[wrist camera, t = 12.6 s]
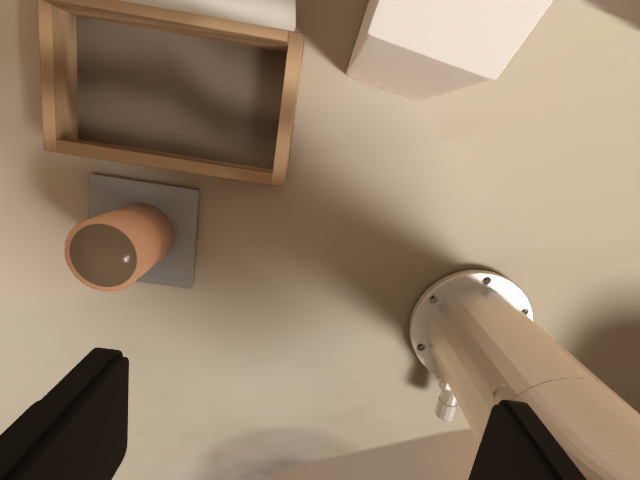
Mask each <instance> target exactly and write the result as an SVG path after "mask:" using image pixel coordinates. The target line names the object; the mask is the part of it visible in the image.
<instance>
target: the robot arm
mask: <svg viewBox="0 0 640 480" xmlns="http://www.w3.org/2000/svg"><path fill="white" fill-rule="evenodd" d="M483 278H485V279H483ZM431 296H433V297H432V298H430V297H431ZM409 333H410V340H411V343H412V347H413V349H414V351H415V353H416V355H417V357H418V358H419V360H420V361H421V363H422V364H423V365H424V366H425V367H426V368H427V369H428V370H430V371H431V372H433V373H434V374H436V375H438V376H439V377H440V379H441V380H440V384H439V385H440V388H441V390H442V391H441V395H440V396H439V399H438V403H437V406H436V410H435V413H436V415H437V416H438V417H439V418H440V419H442V420H445V421H452V420H453V418H454V415H455V412H456V408H457V405H458V404H459V406H460V408H461V410H462V412H463V414H464V416H465V417H466V419H467V421H468V423H469V425H470V427H471V429H472V431H473V433H474V435H475V436H476V439H477V440H478V442H479V444H480V446H479V449H478V452H477V455H476V458H475V461H474V464H473V467H472V471H471V474H470V476H469V479H468V480H640V414H639V413H638V412H637V411H636V410H635V409H633V408H632V407H631V406H630V405H629V404H628V403H627V402H625V401H624V400H623V399H622V398H621V397H620V396H619V395H617V394H616V393H615V392H614V391H613V390H611V389H610V388H609V387H608V386H607V385H605V384H604V383H603V382H602V381H601V380H600V379H599V378H597V377H596V376H595V375H594V374H593V373H592V372H591V371H590V370H588V369H587V368H586V367H585V366H584V365H583V364H582V363H580V362H579V361H578V360H577V359H576V358H575V357H574V356H572V355H571V354H570V353H569V352H568V351H567V350H566V349H564V348H563V347H562V346H561V345H560V344H559V343H558V342H556V341H555V340H554V339H553V338H552V337H551V336H550V335H548V334H547V333H546V332H545V331H544V330H543V329H542V328H540V327H539V326H538V325H537V324H536V323H535V322H534V321H533V314H532V309H531V305H530V303H529V301H528V299H527V297H526V295H525V294H524V293H523V291H522V290H521V289H520V288H519V287H518V286H517V285H515V284H514V283H513V282H512V281H510V280H509V279H507V278H506V277H504V276H502V275H500V274H497V273H495V272H491V271H486V270H466V271H460V272H456V273H454V274H451V275H448V276H446V277H444V278H442V279H440V280H439V281H437V282H436V283H434V284H433V285H432V286H431V287H429V288H428V289H427V290H426V291H425V292H424V294H423V295H422V296H421V297H420V298H419V300H418V302H417V303H416V305H415V307H414V309H413V312H412V315H411V318H410V325H409ZM128 379H129V360H128V358H127V357H123V354H122V352H121V351H120V350H113V349H105V348H94V349H93V350H92V351H91V352H90V353H89V354H88V355H87V356H86V357H85V358H84V359H82V360H81V361H80V362H79V363H78V364H77V365H76V366H75V367H74V368H73V369H72V370H71V371H70V372H69V373H68V374H67V375H66V376H65V377H64V378H63V379H62V380H61V381H60V382H59V383H58V384H57V385H56V386H55V387H54V388H53V389H52V390H51V391H50V392H49V393H48V394H47V395H46V396H45V397H44V398H42V399H41V400H40V401H37V402H36V403H34V404H33V405H32V406H30V407H29V408H28V409H27V410H26V411H25V412H24V413H23V414H22V415H21V416H20V417H19V418H18V419H17V420H16V421H15V422H14V423H13V424H12V425H11V426H10V427H8V428H7V429H6V430H5V431H4V432H3V433H2V434H1V435H0V480H111V479H112V478H113V476H114V474H115V473H116V471H117V469H118V467H119V466H120V464H121V462H122V460H123V458H124V456H125V453H126V449H127V431H128ZM457 402H458V404H457Z"/></svg>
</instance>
